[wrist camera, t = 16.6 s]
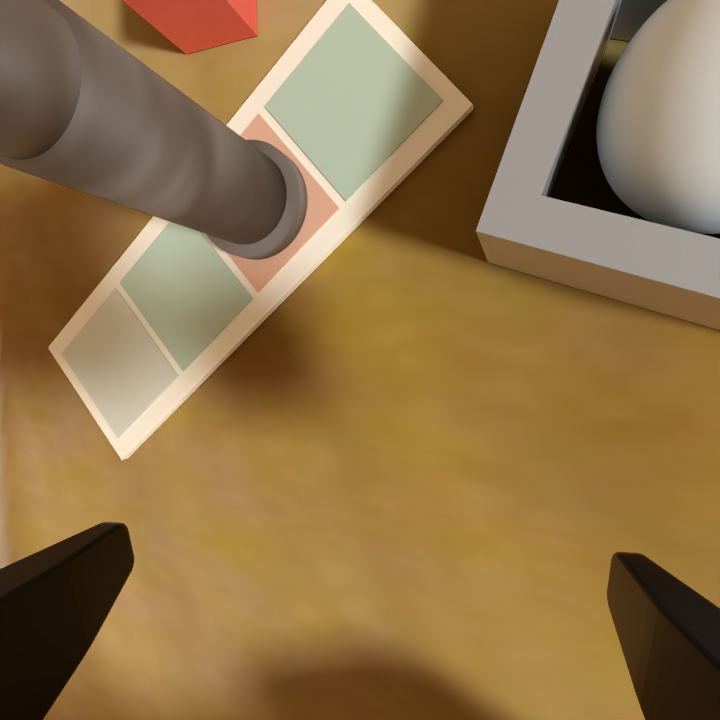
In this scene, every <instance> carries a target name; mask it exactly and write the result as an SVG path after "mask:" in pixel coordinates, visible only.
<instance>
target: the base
mask: <svg viewBox="0 0 720 720" xmlns="http://www.w3.org/2000/svg"><path fill="white" fill-rule="evenodd" d="M666 1H667V0H559V1H558V4H557V7H556V10H555V12H554V15H553V18H552V21H551V24H550V26H549V29H548V32H547V35H546V37H545V40H544V43H543V46H542V49H541V51H540V54H539V57H538V60H537V62H536V65H535V68H534V71H533V74H532V76H531V79H530V82H529V85H528V87H527V90H526V93H525V96H524V98H523V101H522V104H521V107H520V110H519V112H518V115H517V118H516V121H515V123H514V126H513V129H512V132H511V135H510V137H509V140H508V143H507V146H506V148H505V151H504V154H503V157H502V159H501V162H500V165H499V168H498V171H497V173H496V176H495V179H494V182H493V184H492V187H491V190H490V193H489V196H488V198H487V201H486V204H485V207H484V209H483V212H482V215H481V218H480V221H479V223H478V226H477V229H476V233H477V236H478V238H479V241H480V243H481V246H482V248H483V251H484V253H485V256H486V258H487V261H488V263H492V264H495V265H498V266H502V267H505V268H509V269H512V270H515V271H519V272H522V273H526V274H529V275H532V276H536V277H539V278H543V279H546V280H549V281H553V282H556V283H560V284H563V285H566V286H570V287H573V288H577V289H580V290H583V291H587V292H590V293H594V294H597V295H600V296H604V297H607V298H611V299H614V300H617V301H621V302H624V303H628V304H631V305H634V306H638V307H641V308H645V309H648V310H651V311H655V312H658V313H662V314H665V315H668V316H672V317H675V318H679V319H682V320H685V321H689V322H692V323H696V324H699V325H702V326H706V327H709V328H713V329H716V330H719V331H720V239H719V238H715V237H711V236H707V235H703V234H698V233H694V232H690V231H686V230H682V229H678V228H674V227H669V226H665V225H661V224H657V223H653V222H649V221H645V220H641V219H636V218H632V217H628V216H624V215H620V214H616V213H612V212H607V211H603V210H599V209H595V208H591V207H587V206H583V205H579V204H574V203H570V202H566V201H562V200H558V199H554V198H550V197H549V196H550V193H551V190H552V188H553V185H554V183H555V180H556V177H557V175H558V172H559V170H560V167H561V164H562V162H563V159H564V157H565V154H566V151H567V149H568V146H569V144H570V141H571V138H572V136H573V133H574V130H575V128H576V125H577V123H578V120H579V117H580V115H581V112H582V110H583V107H584V104H585V102H586V99H587V97H588V94H589V91H590V89H591V86H592V84H593V81H594V78H595V76H596V73H597V70H598V68H599V65H600V63H601V60H602V57H603V55H604V52H605V50H606V47H607V44H608V42H609V39H610V38H611V39H618V40H625V41H631V39H632V38H633V37H634V35H635V34H636V33H637V31H638V30H639V29H640V28H641V26H642V25H643V24H644V23H645V22H646V20H647V19H648V18H649V17H650V16H651V15H652V14H653V13H654V12H655V11H656V10H657V9H658V8H659V7H660V6H661V5H662V4H664V3H665V2H666Z"/></svg>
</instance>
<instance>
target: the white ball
mask: <svg viewBox="0 0 720 720" xmlns="http://www.w3.org/2000/svg"><path fill="white" fill-rule="evenodd" d="M596 138H597V148H598V155H599V159H600V163H601V167H602V170H603V172H604V175H605V177H606V179H607V181H608V183H609V185H610V186H611V188H612V189H613V191H614V192H615V194H616V195H617V196H618V197H619V198H620V199H621V200H622V202H623V203H624V204H626V205H627V206H628V207H629V208H630V209H631V210H633V211H634V212H635V213H637V214H638V215H640V216H642V217H643V218H645V219H647V220H649V221H651V222H653V223H657V224H661V225H665V226H669V227H674V228H678V229H682V230H686V231H690V232H694V233H702V234H718V233H720V0H667V1H666V2H665V3H664V4H662V5H661V6H660V7H659V8H658V9H657V10H656V11H655V12H654V13H653V14H652V15H651V16H650V17H649V18H648V19H647V20H646V22H645V23H644V24H643V25H642V26H641V28H640V29H639V30H638V31H637V33H636V34H635V35H634V37H633V38H632V39H631V41H630V42H629V43H628V44H627V46H626V48H625V49H624V51H623V52H622V54H621V56H620V57H619V59H618V61H617V63H616V65H615V67H614V69H613V71H612V73H611V75H610V77H609V79H608V82H607V84H606V87H605V90H604V93H603V96H602V99H601V103H600V108H599V114H598V119H597V133H596Z"/></svg>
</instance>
